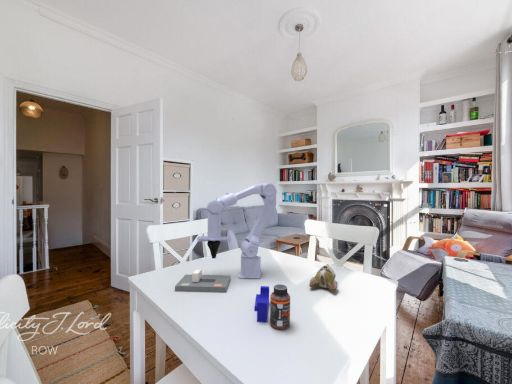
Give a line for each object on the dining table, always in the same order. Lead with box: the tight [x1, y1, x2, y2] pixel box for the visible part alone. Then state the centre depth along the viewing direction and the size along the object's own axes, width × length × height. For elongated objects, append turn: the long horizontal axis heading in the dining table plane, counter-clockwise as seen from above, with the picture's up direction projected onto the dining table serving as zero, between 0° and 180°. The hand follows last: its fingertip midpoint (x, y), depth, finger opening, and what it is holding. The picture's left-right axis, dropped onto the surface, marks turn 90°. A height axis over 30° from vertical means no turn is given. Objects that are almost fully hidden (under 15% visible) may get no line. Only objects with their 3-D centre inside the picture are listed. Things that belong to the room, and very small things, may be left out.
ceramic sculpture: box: [308, 263, 338, 292], centre depth 97 cm, size 11×9×15 cm
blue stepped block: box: [253, 285, 270, 323], centre depth 77 cm, size 12×4×6 cm, turn 173°
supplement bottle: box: [269, 283, 291, 330], centre depth 70 cm, size 6×6×11 cm
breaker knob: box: [191, 268, 203, 282], centre depth 97 cm, size 2×5×4 cm, turn 178°
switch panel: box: [174, 274, 231, 293], centre depth 97 cm, size 20×12×2 cm, turn 88°
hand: (214, 257), depth 104 cm, fingers closed
